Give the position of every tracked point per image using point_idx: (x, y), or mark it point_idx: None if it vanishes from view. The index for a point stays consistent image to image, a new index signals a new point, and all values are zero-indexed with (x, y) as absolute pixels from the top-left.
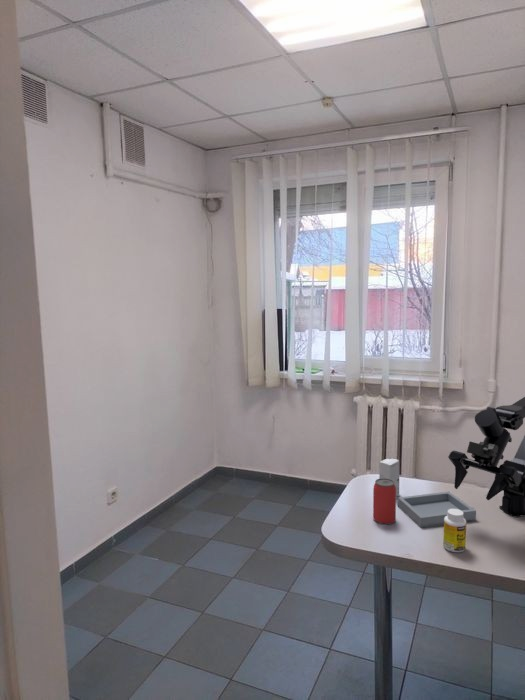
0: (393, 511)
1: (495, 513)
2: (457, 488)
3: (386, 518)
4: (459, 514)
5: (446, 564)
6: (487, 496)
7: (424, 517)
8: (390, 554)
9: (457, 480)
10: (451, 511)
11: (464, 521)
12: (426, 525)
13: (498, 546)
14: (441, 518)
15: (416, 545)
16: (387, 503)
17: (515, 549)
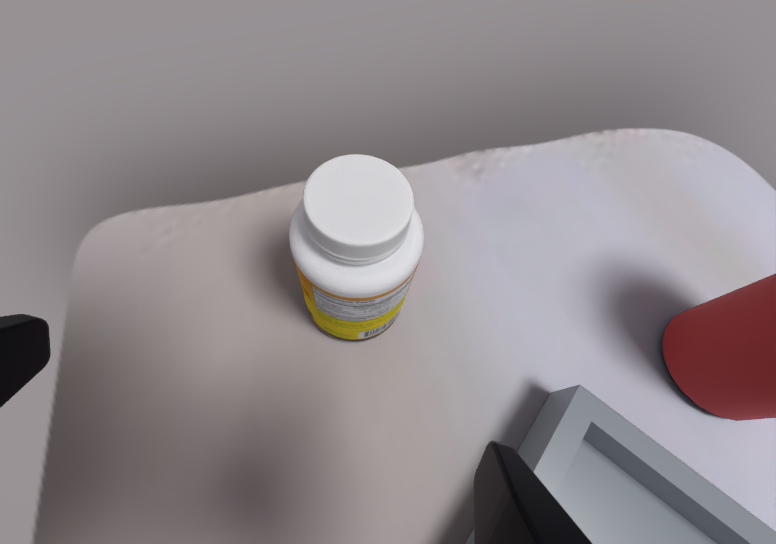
0: (710, 333)
1: None
2: (474, 495)
3: (692, 310)
4: (323, 171)
5: None
6: (6, 320)
7: (569, 403)
8: (517, 146)
9: (535, 526)
10: (384, 187)
11: (297, 222)
12: (538, 419)
13: (160, 443)
14: None
15: (482, 237)
16: (771, 281)
17: (65, 469)
